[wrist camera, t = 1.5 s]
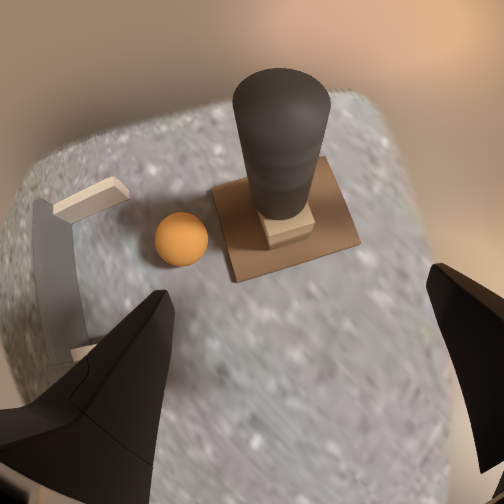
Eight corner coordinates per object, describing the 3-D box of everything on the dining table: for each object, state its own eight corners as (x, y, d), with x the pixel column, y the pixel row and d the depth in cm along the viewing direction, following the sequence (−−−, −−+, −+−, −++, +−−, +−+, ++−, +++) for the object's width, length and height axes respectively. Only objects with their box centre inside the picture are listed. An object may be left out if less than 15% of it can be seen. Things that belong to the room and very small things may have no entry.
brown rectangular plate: (359, 244, 22) (361, 243, 22) (238, 282, 22) (237, 282, 22) (324, 158, 24) (325, 155, 23) (212, 190, 24) (210, 188, 23)
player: (311, 237, 22) (355, 141, 9) (266, 251, 22) (254, 165, 9) (290, 180, 23) (301, 52, 10) (247, 192, 23) (218, 70, 10)
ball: (218, 261, 23) (207, 250, 19) (171, 276, 23) (151, 268, 19) (206, 215, 23) (193, 196, 20) (161, 230, 23) (141, 215, 20)
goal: (159, 344, 22) (130, 350, 17) (85, 359, 22) (50, 365, 17) (128, 189, 25) (101, 165, 20) (64, 218, 25) (33, 201, 20)
